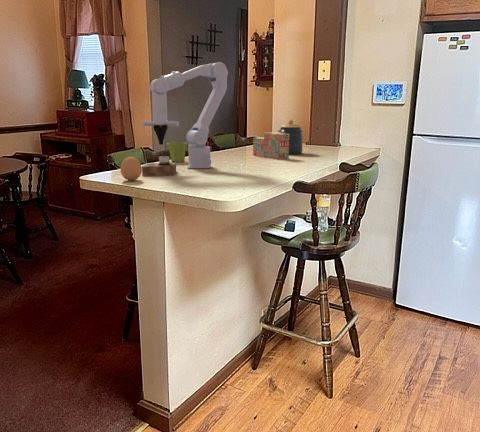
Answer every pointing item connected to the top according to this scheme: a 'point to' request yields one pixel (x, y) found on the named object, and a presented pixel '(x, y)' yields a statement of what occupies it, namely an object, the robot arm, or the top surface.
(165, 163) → the peg
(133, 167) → the egg
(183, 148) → the plant pot
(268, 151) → the stack of blocks
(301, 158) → the top surface
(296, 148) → the canister
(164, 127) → the robot arm
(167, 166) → the socket block
